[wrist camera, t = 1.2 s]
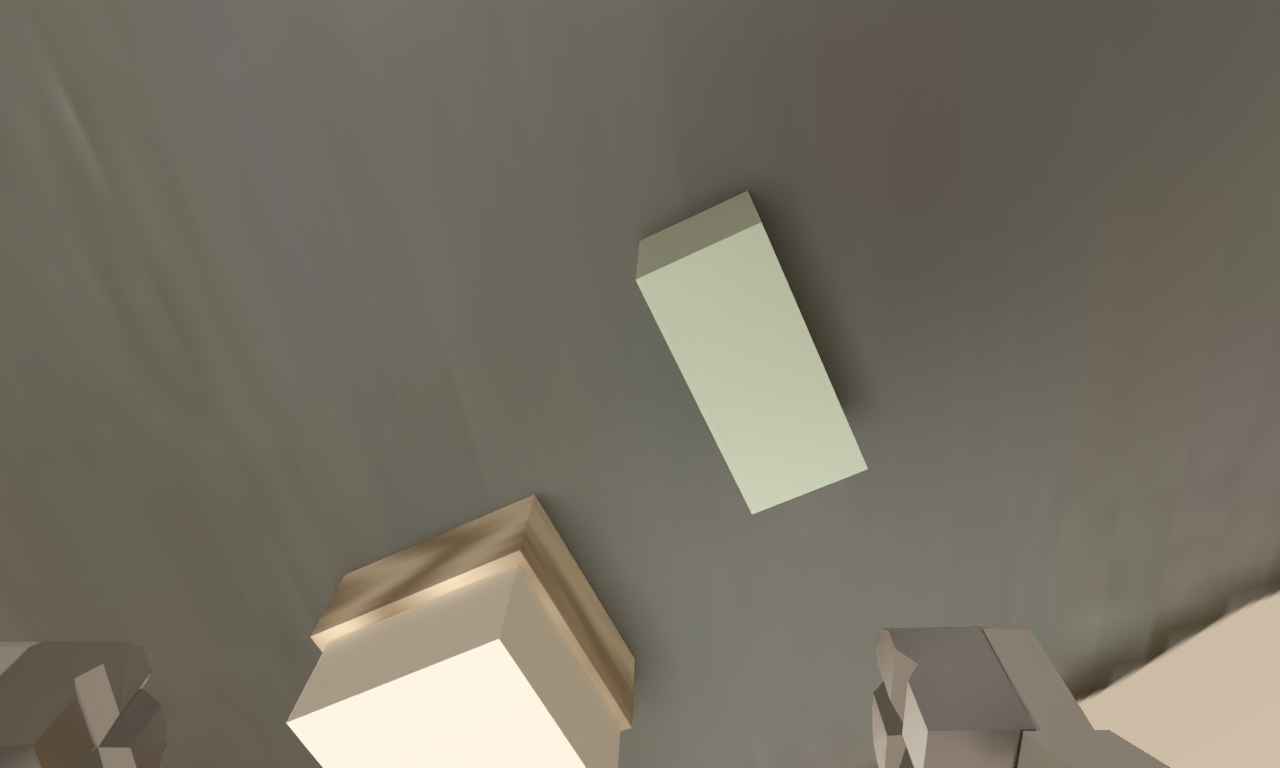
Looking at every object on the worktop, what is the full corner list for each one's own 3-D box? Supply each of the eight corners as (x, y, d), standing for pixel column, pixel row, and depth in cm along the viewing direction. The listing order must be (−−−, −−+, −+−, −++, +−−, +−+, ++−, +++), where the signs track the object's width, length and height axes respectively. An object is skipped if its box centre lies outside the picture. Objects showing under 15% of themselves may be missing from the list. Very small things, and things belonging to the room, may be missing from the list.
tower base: (535, 492, 43) (519, 549, 39) (634, 656, 47) (631, 727, 43) (346, 572, 46) (310, 636, 41) (456, 724, 49) (434, 798, 45)
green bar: (747, 190, 37) (761, 221, 32) (840, 406, 41) (868, 469, 36) (639, 240, 38) (635, 279, 33) (740, 447, 42) (752, 514, 37)
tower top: (518, 563, 39) (499, 638, 34) (620, 723, 42) (615, 811, 38) (328, 641, 41) (285, 722, 36) (440, 789, 44) (415, 879, 40)
